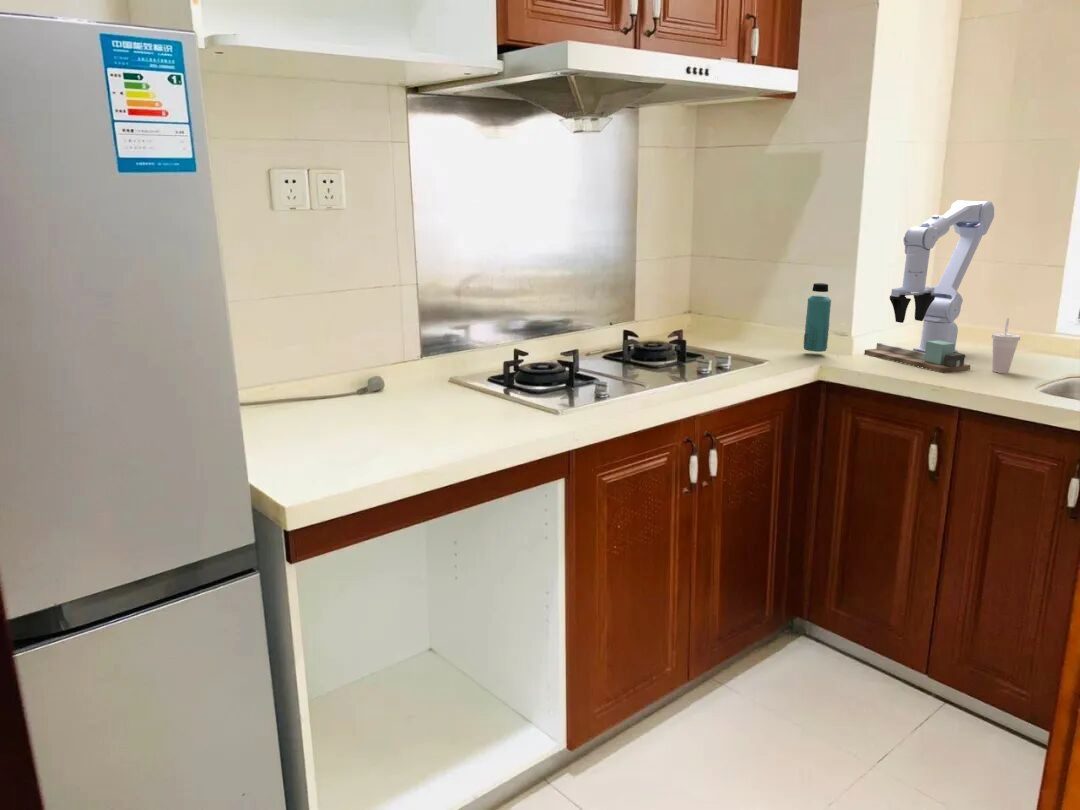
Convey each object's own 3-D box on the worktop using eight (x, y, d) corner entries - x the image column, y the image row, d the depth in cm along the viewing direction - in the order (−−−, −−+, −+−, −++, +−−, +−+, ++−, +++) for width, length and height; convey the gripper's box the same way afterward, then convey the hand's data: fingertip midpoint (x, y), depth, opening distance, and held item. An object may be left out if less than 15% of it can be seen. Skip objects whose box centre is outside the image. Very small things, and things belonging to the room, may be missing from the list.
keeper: (923, 360, 219) (926, 341, 217) (935, 359, 221) (938, 340, 219) (940, 364, 214) (942, 344, 213) (951, 362, 216) (954, 343, 215)
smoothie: (981, 371, 213) (990, 317, 209) (993, 368, 217) (1001, 315, 213) (1007, 375, 208) (1016, 321, 205) (1019, 372, 212) (1028, 318, 208)
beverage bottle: (831, 356, 229) (839, 284, 224) (811, 357, 227) (818, 285, 222) (817, 351, 235) (824, 281, 230) (797, 353, 233) (803, 282, 228)
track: (864, 354, 233) (866, 339, 232) (889, 351, 237) (891, 336, 236) (943, 373, 210) (946, 356, 209) (970, 369, 215) (972, 353, 214)
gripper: (909, 274, 218) (902, 325, 221) (946, 272, 224) (939, 321, 227) (887, 271, 224) (881, 321, 227) (924, 269, 230) (918, 318, 233)
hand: (909, 321), depth 228 cm, fingers open, 7 cm apart
